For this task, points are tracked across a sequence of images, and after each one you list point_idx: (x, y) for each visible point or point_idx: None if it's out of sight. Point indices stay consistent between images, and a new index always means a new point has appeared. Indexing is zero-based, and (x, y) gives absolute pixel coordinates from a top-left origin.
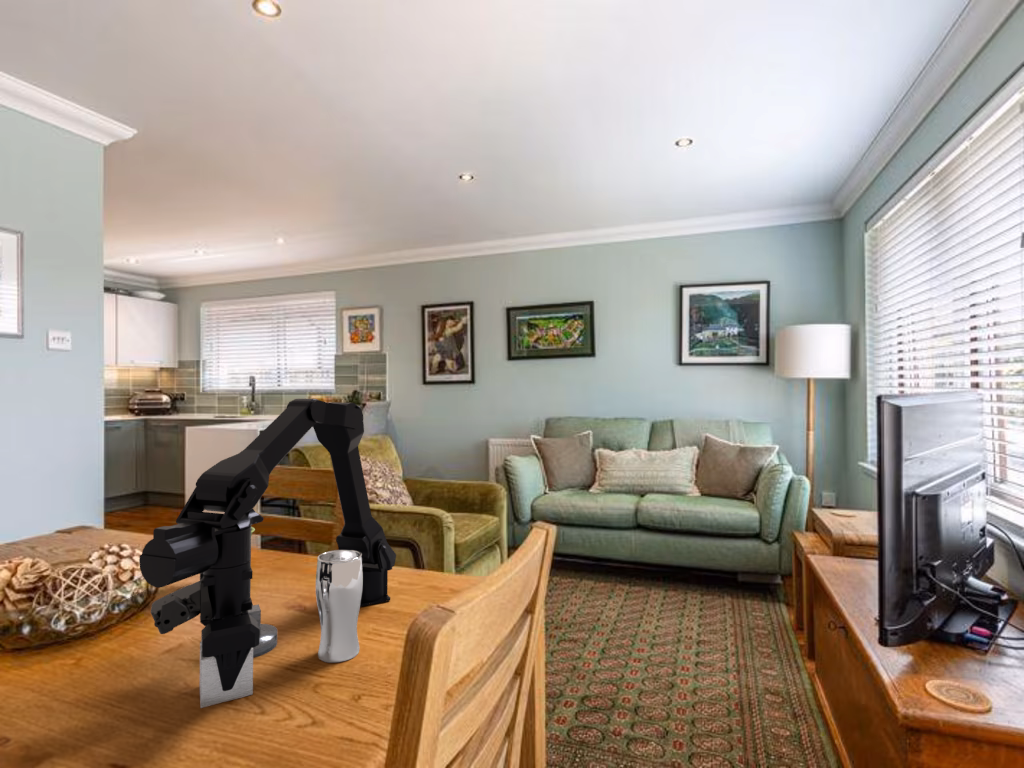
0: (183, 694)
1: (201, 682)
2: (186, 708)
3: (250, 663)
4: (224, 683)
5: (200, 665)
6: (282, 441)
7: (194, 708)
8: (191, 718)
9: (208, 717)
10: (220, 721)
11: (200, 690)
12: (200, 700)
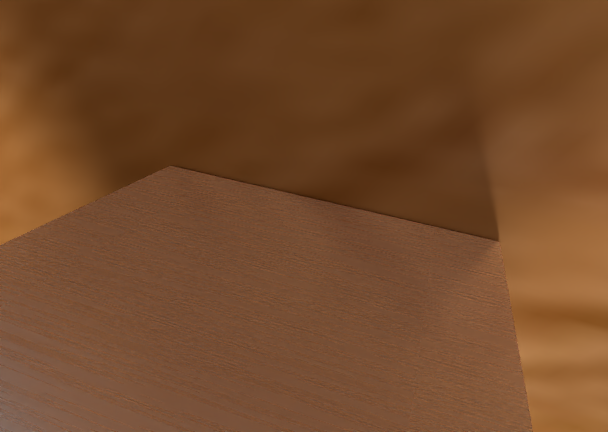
0: (453, 111)
1: (29, 237)
2: (216, 91)
3: None
4: None
5: (153, 342)
6: None
7: (189, 135)
8: (86, 96)
9: (61, 174)
10: (9, 209)
11: (172, 210)
12: (177, 182)
